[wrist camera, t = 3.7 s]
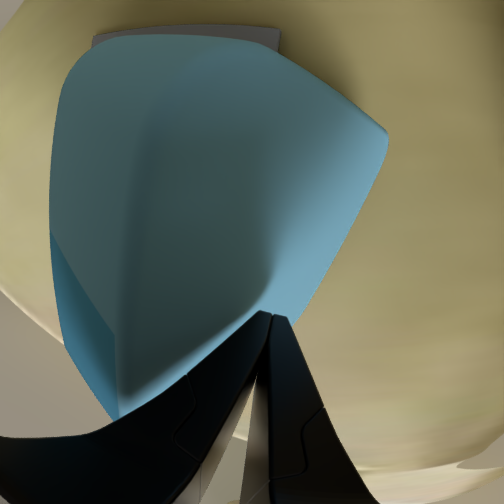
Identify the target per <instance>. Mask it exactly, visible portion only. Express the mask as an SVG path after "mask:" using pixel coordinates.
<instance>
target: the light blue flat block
mask: <svg viewBox="0 0 504 504" xmlns="http://www.w3.org/2000/svg"><path fill="white" fill-rule="evenodd" d="M388 143H389V137H388V133H387V131H386V130H385V129H384V128H383V127H381V126H380V125H379V124H378V123H377V122H376V121H374V120H373V119H372V118H371V117H370V116H368V115H367V114H366V113H365V112H363V111H362V110H361V109H360V108H358V107H357V106H356V105H355V104H353V103H352V102H351V101H349V100H348V99H347V98H345V97H344V96H343V95H341V94H340V93H339V92H337V91H336V90H335V89H333V88H332V87H330V86H329V85H327V84H326V83H325V82H323V81H322V80H320V79H319V78H317V77H316V76H314V75H313V74H311V73H310V72H308V71H307V70H305V69H304V68H302V67H300V66H299V65H297V64H296V63H294V62H292V61H291V60H289V59H287V58H286V57H284V56H282V55H281V54H279V53H277V52H276V51H274V50H272V49H270V48H268V47H266V46H264V45H261V44H259V43H256V42H251V41H246V40H239V39H232V38H223V37H212V36H198V35H174V34H152V35H128V36H120V37H115V38H111V39H108V40H106V41H104V42H101V43H99V44H98V45H96V46H94V47H93V48H91V49H90V50H89V51H87V52H86V53H85V54H84V55H83V56H82V57H81V58H80V59H79V60H78V61H77V62H76V63H75V65H74V66H73V67H72V69H71V70H70V72H69V74H68V75H67V77H66V79H65V82H64V84H63V87H62V90H61V94H60V98H59V103H58V109H57V115H56V121H55V128H54V136H53V145H52V155H51V168H50V189H49V228H50V248H51V262H52V272H53V281H54V289H55V296H56V303H57V309H58V315H59V321H60V326H61V331H62V336H63V341H64V345H65V348H66V350H67V351H68V353H69V355H70V357H71V358H72V360H73V362H74V364H75V365H76V367H77V369H78V370H79V372H80V373H81V375H82V377H83V378H84V380H85V381H86V383H87V384H88V386H89V387H90V389H91V390H92V392H93V393H94V395H95V396H96V398H97V399H98V401H99V402H100V403H101V405H102V406H103V408H104V409H105V410H106V412H107V413H108V415H109V416H110V417H111V419H112V420H113V421H116V420H117V419H119V418H121V417H123V416H124V415H126V414H128V413H130V412H131V411H133V410H135V409H137V408H138V407H140V406H142V405H143V404H145V403H147V402H148V401H150V400H151V399H153V398H154V397H156V396H158V395H159V394H161V393H162V392H163V391H165V390H166V389H167V388H169V387H170V386H171V385H172V384H174V383H175V382H176V381H178V380H179V379H180V378H181V377H182V376H183V375H187V372H188V371H190V370H191V369H192V368H193V367H194V366H196V365H197V364H198V363H199V362H200V361H201V360H203V359H204V358H205V357H206V356H207V355H208V354H210V353H211V352H212V351H213V350H214V349H215V348H217V347H218V346H219V345H220V344H221V343H222V342H223V341H225V340H226V339H227V338H228V337H229V336H230V335H231V334H232V333H234V332H235V331H236V330H237V329H238V328H239V327H240V326H241V325H243V324H244V323H245V322H246V321H247V320H248V319H249V318H250V317H251V316H253V315H254V314H255V313H256V312H257V311H258V310H262V311H266V312H270V313H272V316H273V314H279V315H283V316H286V317H287V318H288V320H289V322H290V324H291V327H292V326H293V324H294V323H295V322H296V321H297V319H298V318H299V317H300V316H301V314H302V313H303V311H304V310H305V308H306V306H307V305H308V303H309V301H310V300H311V298H312V296H313V295H314V293H315V291H316V290H317V288H318V286H319V284H320V283H321V281H322V279H323V277H324V276H325V274H326V272H327V270H328V269H329V267H330V265H331V263H332V262H333V260H334V258H335V256H336V254H337V252H338V251H339V249H340V247H341V245H342V243H343V241H344V240H345V238H346V236H347V234H348V232H349V230H350V228H351V226H352V224H353V223H354V221H355V219H356V217H357V215H358V213H359V211H360V209H361V207H362V205H363V203H364V201H365V199H366V197H367V195H368V193H369V191H370V189H371V187H372V185H373V183H374V181H375V178H376V176H377V174H378V172H379V170H380V168H381V166H382V163H383V161H384V158H385V155H386V152H387V148H388Z"/></svg>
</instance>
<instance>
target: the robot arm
mask: <svg viewBox="0 0 504 504" xmlns="http://www.w3.org/2000/svg"><path fill="white" fill-rule="evenodd" d="M256 376H257V377H256ZM255 380H256V382H255ZM254 383H255V387H254V395H253V403H252V411H251V420H250V428H249V435H248V444H247V451H246V459H245V466H244V474H243V482H242V489H241V496H240V503H239V504H380V503H379V502H378V501H377V500H376V499H375V498H374V497H373V496H372V494H371V493H370V492H369V490H368V488H367V487H366V485H365V483H364V482H363V480H362V478H361V477H360V475H359V473H358V472H357V470H356V468H355V466H354V465H353V463H352V461H351V460H350V458H349V456H348V454H347V453H346V451H345V449H344V447H343V445H342V443H341V442H340V440H339V438H338V436H337V434H336V432H335V430H334V427H333V425H332V423H331V421H330V418H329V416H328V413H327V411H326V408H323V407H324V404H323V401H322V399H321V397H320V394H319V392H318V389H317V387H316V384H315V382H314V380H313V377H312V375H311V372H310V370H309V368H308V365H307V363H306V360H305V358H304V355H303V353H302V351H301V348H300V346H299V343H298V341H297V339H296V336H295V334H294V331H293V329H292V327H291V324H290V322H289V320H288V318H287V317H286V316H283V315H279V314H273V316H272V313H270V312H266V311H262V310H258V311H257V312H256V313H255V314H254V315H253V316H251V317H250V318H249V319H248V320H247V321H246V322H245V323H244V324H243V325H241V326H240V327H239V328H238V329H237V330H236V331H235V332H234V333H232V334H231V335H230V336H229V337H228V338H227V339H226V340H225V341H223V342H222V343H221V344H220V345H219V346H218V347H217V348H215V349H214V350H213V351H212V352H211V353H210V354H208V355H207V356H206V357H205V358H204V359H203V360H201V361H200V362H199V363H198V364H197V365H196V366H194V367H193V368H192V369H191V370H190V371H188V372H187V375H183V376H182V377H181V378H180V379H179V380H178V381H176V382H175V383H174V384H172V385H171V386H170V387H169V388H167V389H166V390H165V391H163V392H162V393H161V394H159V395H158V396H156V397H154V398H153V399H151V400H150V401H148V402H147V403H145V404H143V405H142V406H140V407H138V408H137V409H135V410H133V411H131V412H130V413H128V414H126V415H124V416H123V417H121V418H119V419H117V420H116V421H114V422H112V423H110V424H108V425H106V426H105V427H103V428H101V429H98V430H96V431H93V432H90V433H87V434H82V435H76V436H62V437H43V438H10V437H2V436H0V504H199V503H200V501H201V499H202V497H203V495H204V493H205V491H206V489H207V487H208V485H209V483H210V481H211V479H212V477H213V475H214V473H215V471H216V469H217V467H218V464H219V463H220V460H221V458H222V456H223V454H224V452H225V450H226V447H227V445H228V443H229V441H230V439H231V437H232V434H233V432H234V430H235V428H236V426H237V423H238V421H239V419H240V417H241V414H242V412H243V410H244V407H245V405H246V403H247V400H248V398H249V396H250V393H251V391H252V388H253V386H254Z"/></svg>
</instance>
